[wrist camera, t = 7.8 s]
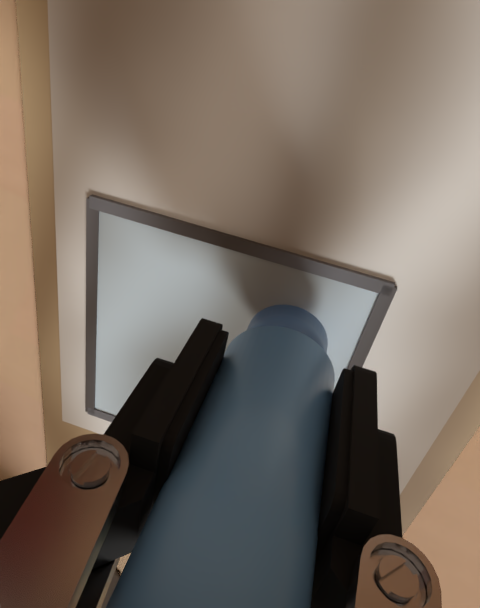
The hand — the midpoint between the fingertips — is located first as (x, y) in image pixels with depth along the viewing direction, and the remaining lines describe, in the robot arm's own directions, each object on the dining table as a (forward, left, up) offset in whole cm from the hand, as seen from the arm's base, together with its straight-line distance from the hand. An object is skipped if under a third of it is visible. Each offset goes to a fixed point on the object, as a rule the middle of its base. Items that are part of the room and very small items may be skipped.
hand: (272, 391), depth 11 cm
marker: (0, 0, -2) cm, 2 cm away
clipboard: (+1, +2, -4) cm, 5 cm away
